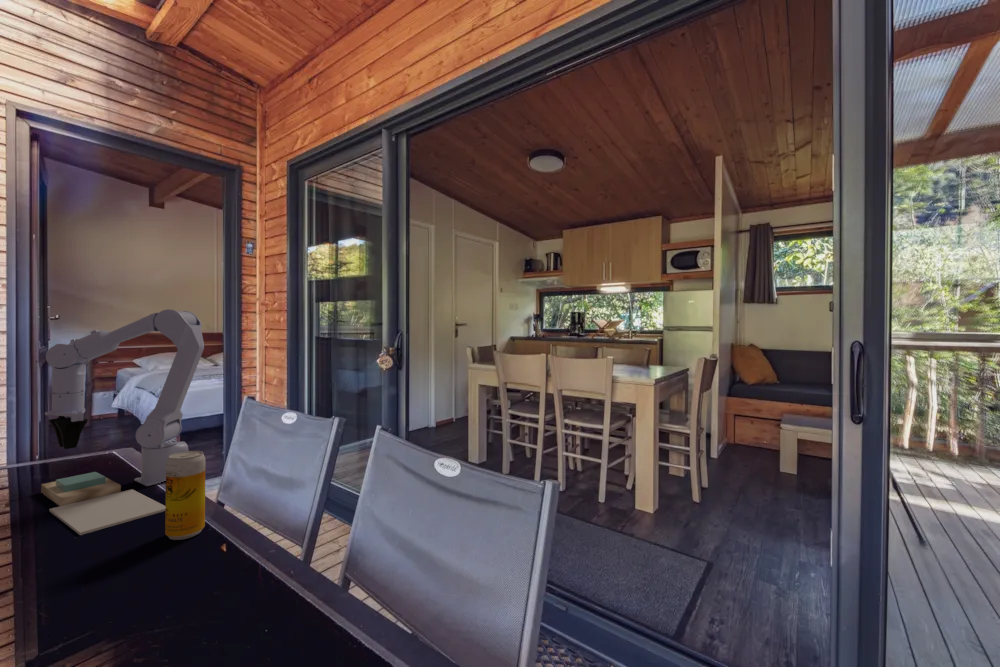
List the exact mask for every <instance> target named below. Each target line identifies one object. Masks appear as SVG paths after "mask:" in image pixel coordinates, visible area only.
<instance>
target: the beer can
mask: <svg viewBox="0 0 1000 667" xmlns="http://www.w3.org/2000/svg"><path fill="white" fill-rule="evenodd" d="M165 506H166V510H165V511H164V513H165V518H164V519H165V522H164V523H165V524H164V525H165V526H164V527H165V529H164V532H165V533H164V534H165V535H166V536H167V537H168V539H169V540H173V541H179V540H185V539H191V538H192V537H195V536H197V535H199V534H200V533H201V532H202V530H203V529H204V528H205V526H206V456H205V455H204V451H202V450H201V451H200V450H189V451H186V452H180V453H176V454H172V455H170V456H169V459H168V460H167V462H166V482H165Z"/></svg>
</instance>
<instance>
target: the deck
mask: <svg viewBox="0 0 1000 667" xmlns="http://www.w3.org/2000/svg"><path fill="white" fill-rule="evenodd" d="M40 487H41V488H40V493H41V494H42V493H43V495H44V496H45V497H47V499H49V500H51V502H52V503H53V502H54V504H55V505H57V506H58V507H60V506H64V505H68V504H72V503H77V502H81V501H85V500H89V499H93V498H98V497H102V496H106V495H110V494H114V493H119V492H122V491H121V490H122V489H121V488H122V485H121V484H120V483H118V482H115V481H114V480H112V479H110V478H108V477H106V483H104V484H100V485H95V486H91V487H86V488H82V489H77V490H72V491H68V492H64V491H63V490H61V489H59V488H58V487H56V480H55V481H50V482H46V483H45V482H44V483H41V485H40Z"/></svg>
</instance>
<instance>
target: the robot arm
mask: <svg viewBox="0 0 1000 667" xmlns="http://www.w3.org/2000/svg"><path fill="white" fill-rule="evenodd" d="M202 327H203V323H202V321H201V320H200V319H199V317H198V316H197V315H196V314H195V313H194V312H192V311H190V310H189V311H188V310H176V309H169V308H168V309H163V310H160V311H159V312H153V313H150V314H149V315H146V316H145V317H141V318H140V319H138V320H135V321H133V322H130V323H128V324H126V325H123V326H122V327H119V328H117V329H115V330H112V331H109V330H106V329H102V330H100V329H94V330H91V331H90V334H88V335H85V336H83V337H81V338H73V339H70V342H69V343H68V344H67V343H56V344H54V345H53V346H50V348H48V350H47V351H46V353H45V360H46V362H47V364H48V365H50V366H51V367H52V368H51V370H52V371H51V374H52V376H51V377H52V378H51V382H52V383H51V385H52V386H51V410H49V411H45V412H44V415H45V416H58V417H56V418H50V419H48V422H49V424H50V425H51V426H52V428H53V429H54V432H55V434H56V435H55V436H56V440H57V443H58V445H59V448H62V447H63V449H64V450H68V449H69V450H70V449H76V448H77V447H78V443H79V441H80V437H81V433H82V431H83V429H84V428H85V426H86V425H87V423H88V421H89V419H88V418H84V414H85V413H86V408H85V388H86V387H85V383H86V382H85V378H86V376H85V375H86V374H85V373H86V366H87V364H88V363H89V362H90V361H92V360H94V359H97V358H100V357H101V356H105V355H107V354H109V353H112V352H114V351H116V350H117V349H118V348H119V346H120V344H121V343H123V342H126V341H129V340H132V339H135V338H138V337H140V336H143V335H146V334H149V333H151V332H160V334H162V335H163V336H165V337H166V338H168V339H169V340H171V342H172V343H173V345H174V346H175V347H176V348H177V351H176V354H175V356H174V359H173V360H172V364H171V366H170V369H169V371H168V374H167V376H166V379H165V381H164V384H163V387H162V389H161V391H160V394H159V396H158V399H157V402H156V403H155V404H156V405H155V407H154V408H153V409H152V410H151V412H149V414H148V415H147V416H146V418H145V420H144V422H143V423H142V424H141V425H140V426H139V427H138V428H137V429H136V431H135V439H136V442H137V443H138V445H140V447H141V455H140V456H141V458H140V459H141V462H140V464H141V467H140V468H141V474H140V476H141V477H136V478H134V481H135V482H136V483H139V484H141V485H143V486H145V487H149V486H153V485H158V483H159V484H162V483H161V482H163V481H166V462H167V460H168V459H169V456H170V455H172V454H176V453H180V452H186V451H190V450H189V446H188V444H187V443H186V441H178V440H177V439H178V438H177V437H178V436H179V435H180V434H181V432H182V428H183V426H182V419H183V415H184V414H183V413H182V411H181V409H182V406H183V404H184V401H185V399H186V397H187V394H188V391H189V388H190V385H191V383H192V380H193V378H194V375H195V373H196V369H197V367H198V364H199V362H200V360H201V358H202V354H203V352H204V349H205V342H204V338H203V337H204V336H203V333H202ZM163 483H164V482H163Z"/></svg>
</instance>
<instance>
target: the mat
mask: <svg viewBox="0 0 1000 667" xmlns="http://www.w3.org/2000/svg"><path fill="white" fill-rule="evenodd" d="M165 510H166V505H164V504H162V503H160V502H159V501H157V500H154V499H153V498H150V497H148V496H146V495H144V494H143V493H140V492H138V491H136V490H135V489H133V488H131V489H128V490H124V491H121V492H119V493H114V494H110V495H106V496H102V497H98V498H93V499H89V500H85V501H81V502H77V503H72V504H68V505H64V506H56V507H52V508H49V511H48V512H50V513H51V514H52V516H54V517H56V518H57V519H59V520H60V521H61V522H62V523H64V524H65V525H66V526H68V528H70V529H71V530H72V531H74V532H75V533H76V534H78V535H79V536H83V535H85V534H90V533H94V532H97V531H100V530H103V529H106V528H110V527H114V526H117V525H121V524H125V523H127V522H132V521H134V520H135V521H136V520H138V519H142V518H146V517H149V516H153V515H157V514H160V513H163V512H165Z"/></svg>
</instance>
